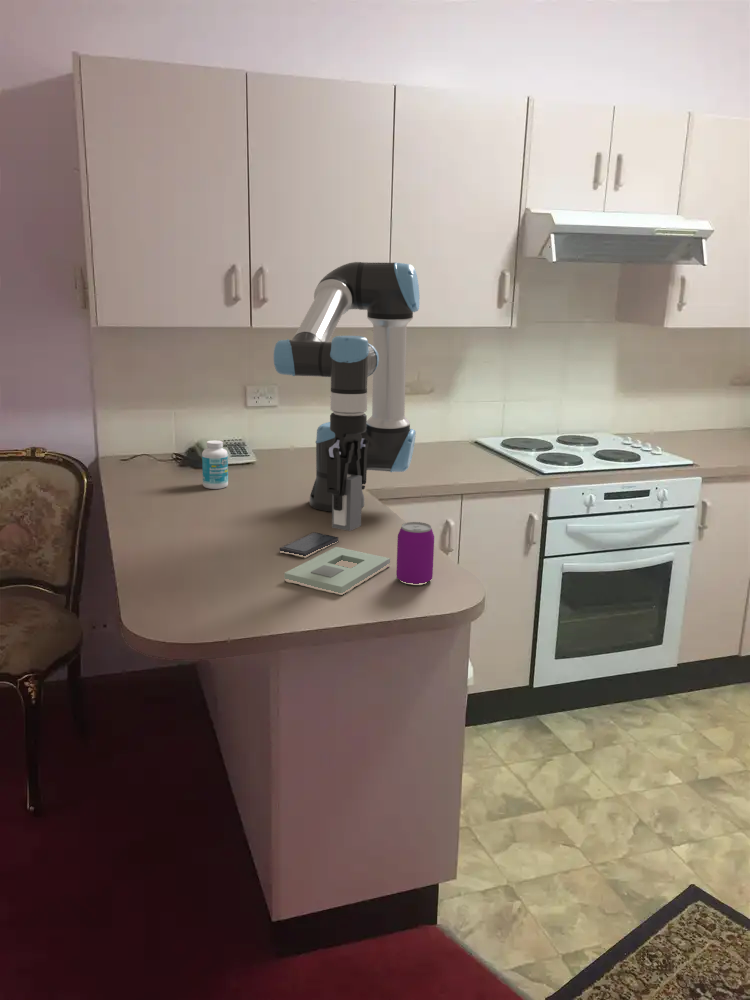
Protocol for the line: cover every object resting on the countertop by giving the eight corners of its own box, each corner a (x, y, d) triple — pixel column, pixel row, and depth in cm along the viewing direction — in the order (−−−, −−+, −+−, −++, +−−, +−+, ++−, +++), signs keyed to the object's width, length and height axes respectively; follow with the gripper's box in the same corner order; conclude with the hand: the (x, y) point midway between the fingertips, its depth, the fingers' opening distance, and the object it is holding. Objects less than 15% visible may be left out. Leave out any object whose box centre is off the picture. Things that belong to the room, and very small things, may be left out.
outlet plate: (336, 554, 186) (336, 545, 185) (389, 566, 179) (390, 557, 178) (284, 581, 169) (284, 572, 168) (341, 596, 162) (341, 585, 162)
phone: (313, 536, 198) (313, 531, 197) (338, 542, 194) (338, 536, 194) (279, 552, 186) (279, 547, 186) (304, 558, 183) (304, 553, 182)
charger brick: (343, 522, 176) (343, 472, 173) (361, 525, 174) (362, 474, 171) (331, 527, 173) (332, 476, 170) (350, 531, 170) (350, 479, 167)
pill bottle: (210, 491, 236) (209, 445, 232) (198, 485, 241) (196, 441, 238) (233, 487, 240) (232, 442, 237) (220, 482, 246) (219, 438, 242)
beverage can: (394, 574, 175) (396, 520, 172) (429, 573, 175) (432, 520, 172) (397, 587, 168) (399, 532, 164) (434, 587, 168) (437, 532, 165)
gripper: (354, 406, 176) (352, 509, 182) (309, 416, 161) (308, 528, 167) (385, 409, 173) (382, 514, 179) (341, 420, 158) (339, 534, 164)
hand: (346, 521), depth 173 cm, fingers closed on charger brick, 4 cm apart
